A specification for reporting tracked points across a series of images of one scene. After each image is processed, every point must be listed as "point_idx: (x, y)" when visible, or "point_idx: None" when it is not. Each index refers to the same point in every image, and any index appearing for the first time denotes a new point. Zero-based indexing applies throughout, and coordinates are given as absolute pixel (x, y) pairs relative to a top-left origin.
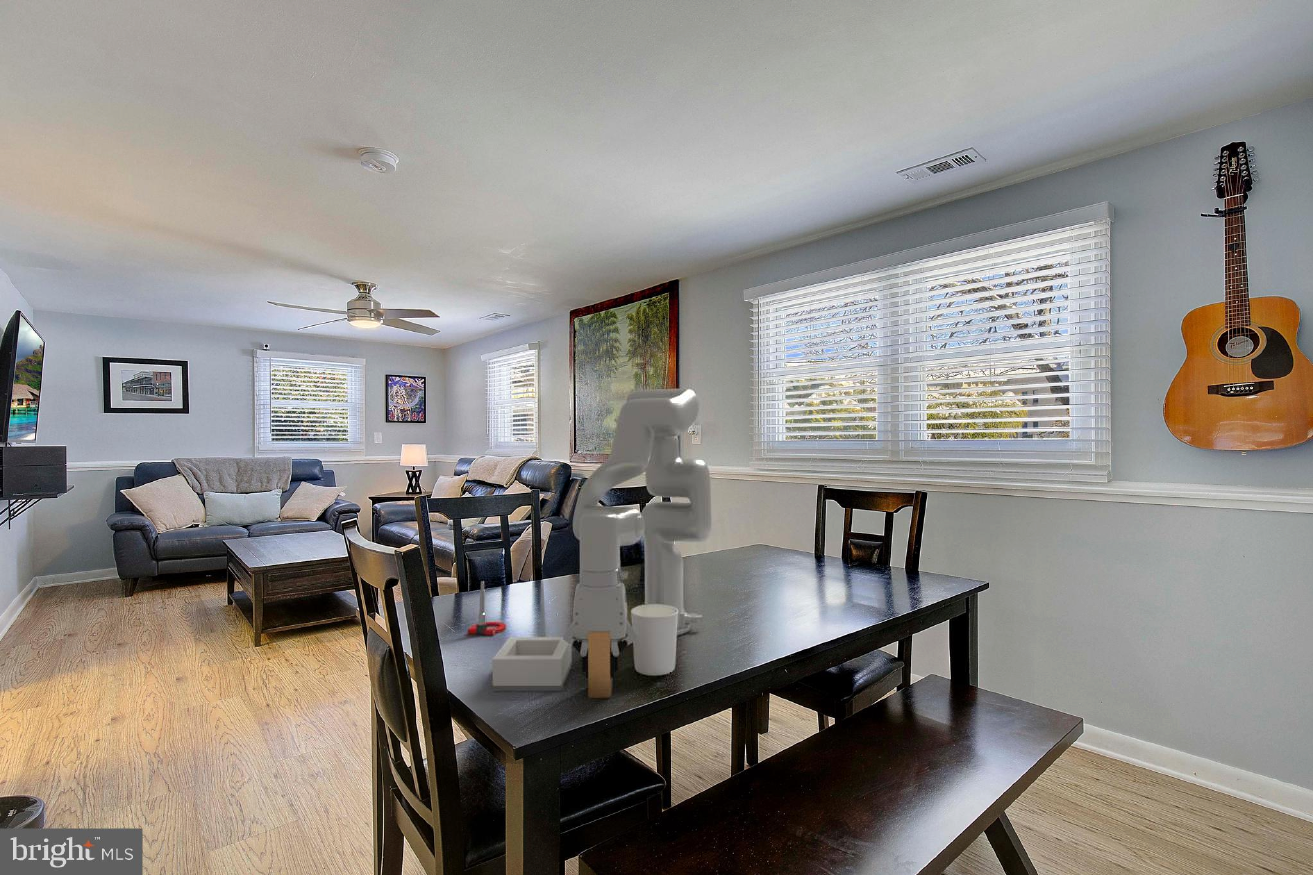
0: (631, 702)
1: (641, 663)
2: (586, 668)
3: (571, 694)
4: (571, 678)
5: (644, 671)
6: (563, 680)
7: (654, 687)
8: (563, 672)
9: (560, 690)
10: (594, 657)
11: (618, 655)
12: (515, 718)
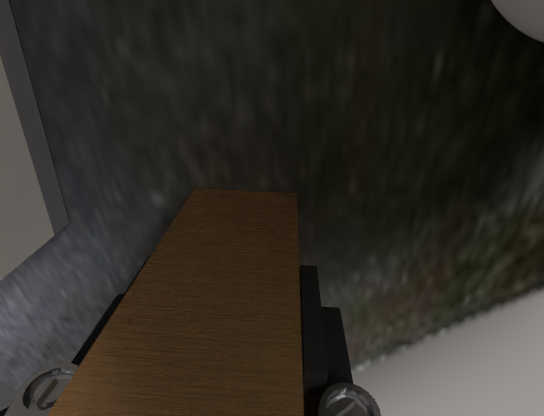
0: (369, 330)
1: (537, 14)
2: None
3: (125, 255)
4: (56, 66)
5: (521, 26)
6: (36, 173)
7: (504, 211)
8: (4, 191)
9: (64, 223)
10: None
11: (351, 378)
12: (16, 386)
